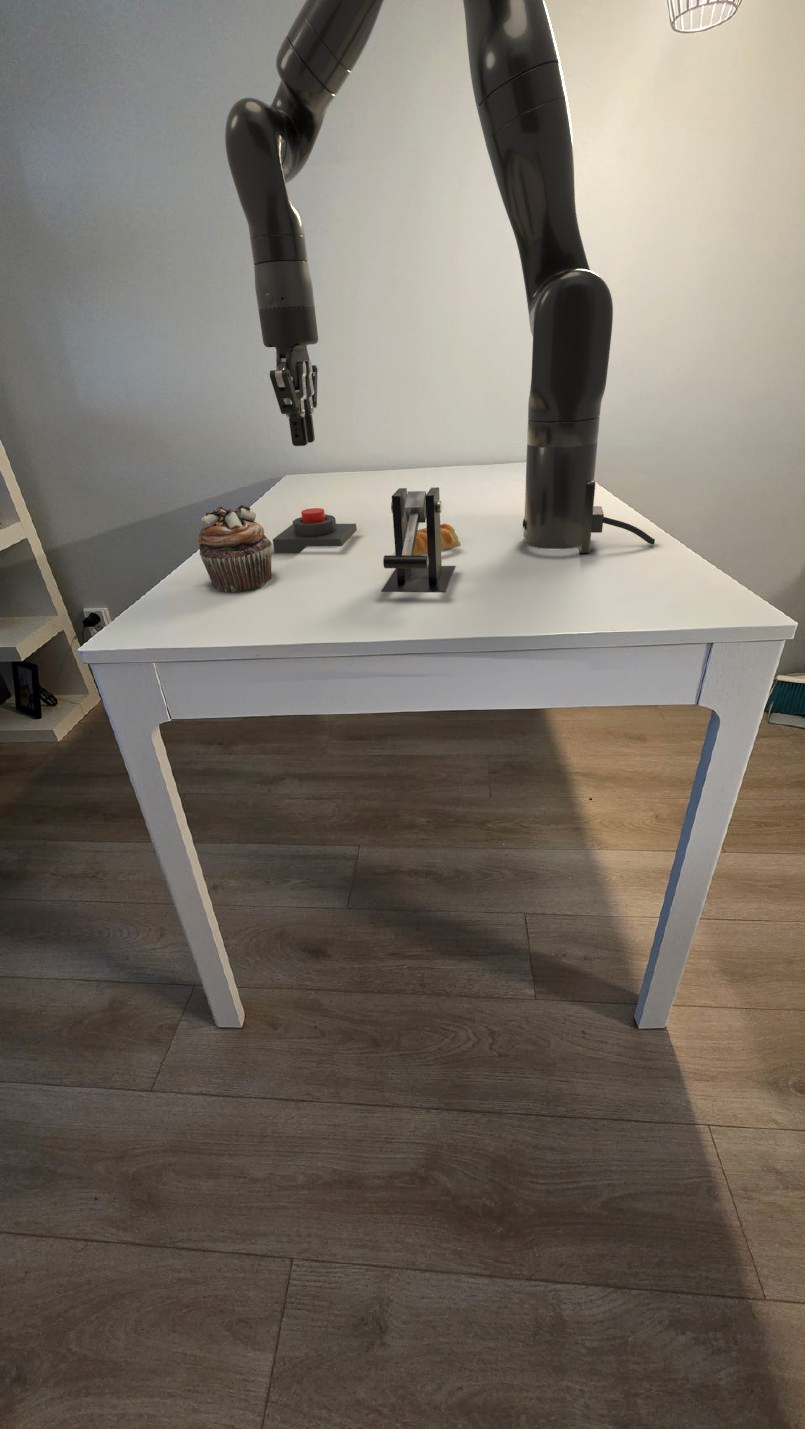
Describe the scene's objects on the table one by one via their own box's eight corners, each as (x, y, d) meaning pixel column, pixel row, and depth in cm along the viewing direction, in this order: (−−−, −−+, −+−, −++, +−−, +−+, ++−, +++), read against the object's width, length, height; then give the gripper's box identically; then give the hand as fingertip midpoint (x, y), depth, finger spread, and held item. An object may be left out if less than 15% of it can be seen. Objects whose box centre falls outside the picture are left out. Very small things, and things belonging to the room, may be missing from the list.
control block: (357, 537, 105) (355, 512, 103) (342, 553, 97) (339, 526, 95) (294, 537, 107) (290, 513, 105) (274, 553, 99) (270, 527, 97)
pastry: (415, 567, 89) (413, 539, 87) (385, 558, 94) (383, 532, 92) (464, 552, 94) (464, 525, 92) (434, 544, 99) (433, 519, 97)
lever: (428, 574, 73) (425, 558, 71) (385, 573, 74) (381, 558, 72) (439, 506, 78) (437, 490, 76) (399, 507, 79) (396, 491, 77)
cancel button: (328, 519, 101) (327, 507, 101) (321, 525, 98) (320, 513, 98) (306, 519, 102) (305, 508, 101) (299, 525, 99) (297, 513, 98)
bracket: (445, 601, 77) (443, 500, 71) (381, 600, 79) (373, 501, 73) (456, 574, 86) (454, 482, 80) (397, 574, 87) (391, 483, 81)
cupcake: (197, 596, 84) (179, 519, 79) (219, 572, 93) (204, 501, 88) (268, 593, 84) (255, 515, 79) (284, 570, 92) (273, 498, 87)
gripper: (295, 301, 79) (313, 451, 88) (328, 304, 91) (341, 436, 100) (238, 306, 81) (262, 452, 89) (278, 308, 92) (295, 438, 101)
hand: (304, 443), depth 95 cm, fingers closed
